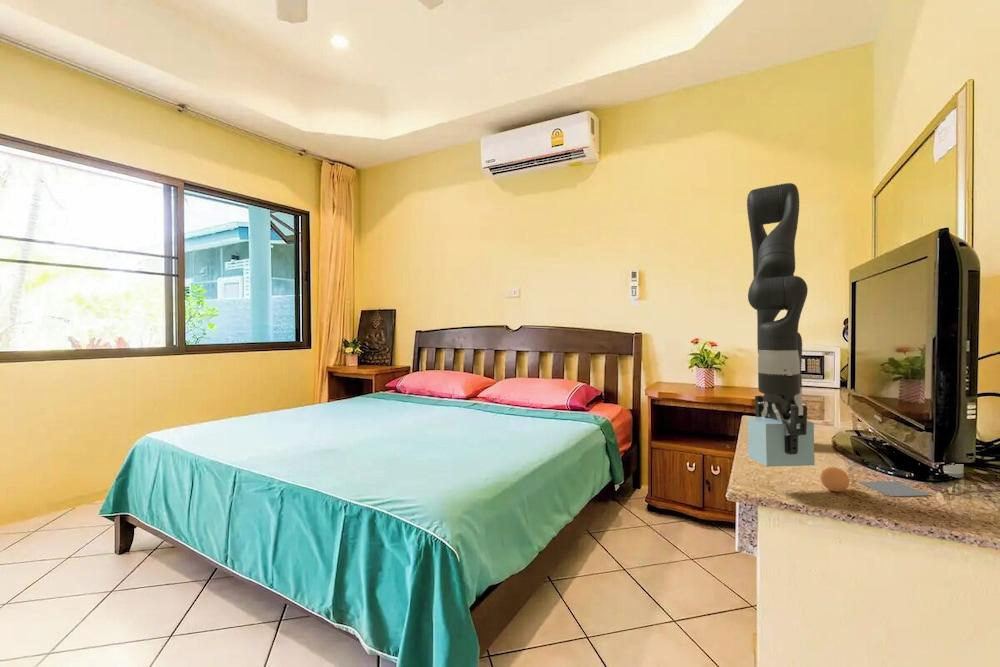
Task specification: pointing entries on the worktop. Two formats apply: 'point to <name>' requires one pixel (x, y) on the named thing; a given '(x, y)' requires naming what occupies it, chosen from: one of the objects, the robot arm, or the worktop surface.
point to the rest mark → (894, 489)
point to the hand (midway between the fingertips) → (779, 448)
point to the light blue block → (778, 443)
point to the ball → (834, 479)
